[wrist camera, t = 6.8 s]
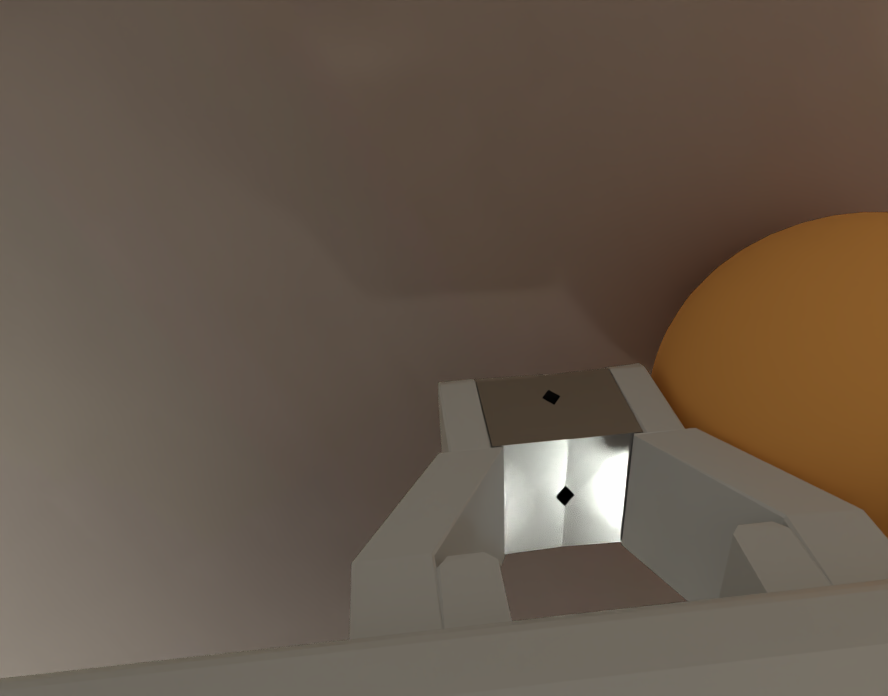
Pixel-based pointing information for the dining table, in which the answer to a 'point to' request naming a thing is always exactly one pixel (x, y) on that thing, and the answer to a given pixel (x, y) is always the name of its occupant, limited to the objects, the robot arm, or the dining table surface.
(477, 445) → the robot arm
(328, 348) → the dining table surface
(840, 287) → the ball
